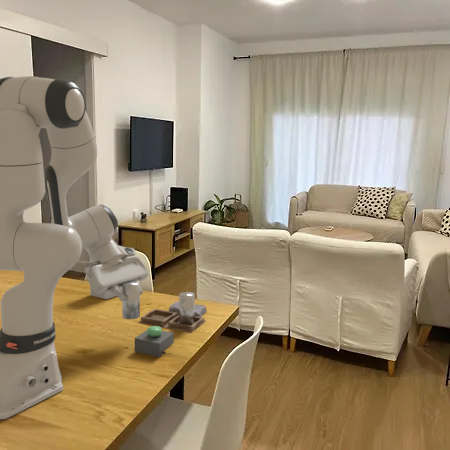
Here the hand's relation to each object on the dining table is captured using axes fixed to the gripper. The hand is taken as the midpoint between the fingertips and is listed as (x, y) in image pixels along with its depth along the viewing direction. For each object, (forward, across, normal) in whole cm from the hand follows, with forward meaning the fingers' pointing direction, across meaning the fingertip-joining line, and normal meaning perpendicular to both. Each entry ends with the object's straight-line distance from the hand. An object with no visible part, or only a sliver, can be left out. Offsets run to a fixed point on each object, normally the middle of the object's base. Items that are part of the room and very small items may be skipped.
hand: (132, 296), depth 131 cm
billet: (+4, 0, +5) cm, 6 cm away
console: (+15, 0, +4) cm, 16 cm away
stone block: (+10, +28, +10) cm, 31 cm away
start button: (+15, 0, +3) cm, 15 cm away
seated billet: (+13, +18, +4) cm, 23 cm away
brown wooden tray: (+10, +17, +9) cm, 22 cm away
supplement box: (-18, +26, +36) cm, 48 cm away
